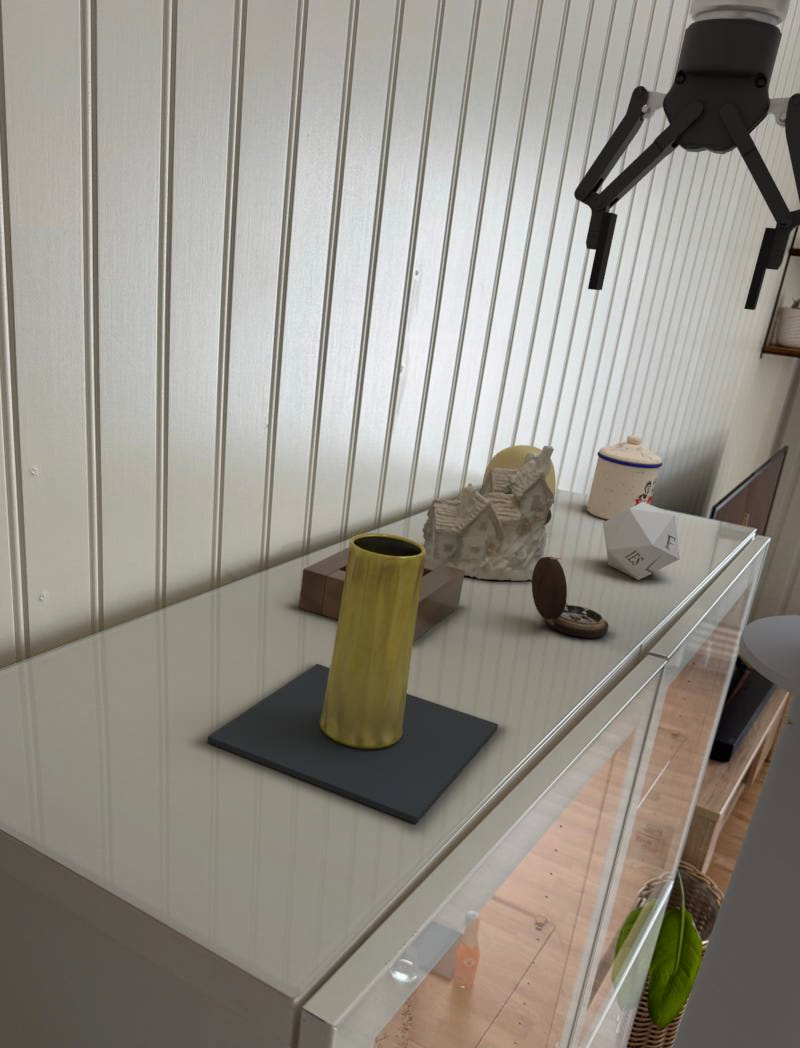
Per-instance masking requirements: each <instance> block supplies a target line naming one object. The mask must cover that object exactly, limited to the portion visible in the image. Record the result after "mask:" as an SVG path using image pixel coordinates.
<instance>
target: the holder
mask: <svg viewBox="0 0 800 1048" xmlns="http://www.w3.org/2000/svg"><path fill="white" fill-rule="evenodd" d="M348 551H349V546H348V547H346V548H343V549H342V550H340V551H337V552H336V553H333V554H331V555H330V556H327V557H325V558H324V559H321V560H319V561H317V562H315V563H313V564H311V565H309V566H307V567H304V568H303V569H302V578H301V585H300V587H301V588H300V594H299V602H298V603H299V604H298V608H299V609H301V610H306V611H308V612H312V613H314V614H318V615H321V616H324V617H328V618H331V619H334V620H337V621H338V619H339V613H340V607H341V600H342V594H343V587H344V580H345V573H346V566H347V558H348ZM464 573H465V571H464V570H460V569H456V568H452V567H449V566H445V565H441V564H438V563H434V562H430V561H426V560H425V566H424V571H423V577H422V584H421V590H420V597H419V604H418V609H417V616H416V623H415V630H414V637H413V642H415V641H416V640H417V639H419V638H420V637H421V636H423V635H424V634H425V633H426V632H428V631H430V629H432V628H434V627H435V626H436V625H437V624H438V623H440V622H442V620H444V619H445V618H446V617H448V616H449V615H450V614H452V613H453V612H454V611H456V610H457V609H458V608H459V605H460V600H461V594H462V589H463V584H464V578H465V575H464Z"/></svg>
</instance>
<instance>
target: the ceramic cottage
mask: <svg viewBox="0 0 800 1048" xmlns="http://www.w3.org/2000/svg"><path fill="white" fill-rule="evenodd" d="M541 450H542V453H541V454H538V453H533V452H529V453H528V454H526V457H525V460H524V463H523V465H522V468H520V469H515V470H512V469H501V468H491V470H490V471H489V472H488V475H487V477H486V479H485V482H484V483H483V482H482V485H481V487H480V488H479V490H477V489H476V487H475V486H474V485H473V484H472V483H470V482H469V483H468V485H467V486H465V487H464V489H463V490H462V492H461V493H460V494H459V495H457V499H456V500H450V499H444V498H440V497H436V498H435V499H434V500H432V502H431V504H430V506H429V508H428V510H427V513H426V516H427V517H428V518H427V519H426V520H425V523H424V524H423V528H422V529H421V531H422V533H423V534H422V538H423V539H424V542H423V543H422V544H421V545H422V546H423V547H424V548H425V550H426V561H430V562H434V563H438V564H441V565H445V566H449V567H452V568H456V569H460V570H464V571H465V573H464V576H469V577H470V578H474V577H475V578H476V579H479V580H497V581H504V580H505V581H509V580H510V581H512V582H515V581H525V582H526V581H528V580H529V581H532V575H533V571H534V567H535V565H536V563H537V561H538V560H539V559H540V558H543V557H548V555H547V554H546V553H545V552H546V551H545V549H546V545H547V530H546V528H545V527H546V525H545V522H546V519H547V515H548V512H549V508H550V506H551V505H552V506H553V505H554V503H555V502H556V501H555V500H556V499H555V496H554V494H553V492H551V489H550V488H549V487H548V484H547V481H546V476H547V475H548V473H549V471H550V467H551V460H552V459H550V458H552V455H553V453H554V450H555V448H554V446H552V445H543V447H542V449H541ZM550 509H551V508H550ZM544 525H545V526H544Z"/></svg>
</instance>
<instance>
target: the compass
mask: <svg viewBox="0 0 800 1048" xmlns="http://www.w3.org/2000/svg"><path fill="white" fill-rule="evenodd" d="M559 560H562V557H554V556H547V557H543V558H540V559H539V560H538V561H537V563H536V565H535V567H534V571H533V575H532V580H531V593H532V599H533V603H534V606H535V608H536V610H537V612H538V614H539V615H540V616H541V617H542V618H543V619H545V621H546V623H547V624H548V625H549V626H550V627H551V628H553V629H554V630H555V631H558V632H561V633H563V634H566V635H569V636H573V637H578V638H588V639H589V638H590V639H591V638H592V639H593V638H599V637H602V636H604V635H606V634H607V633H608V631H609V623H608V622H607V620H606V619H605V618H604V616H602V615H601V614H600V613H599V612H597V611H595V610H593V609H590V608H587V607H584V606H580V605H573V604H568V603H567V598H568V585H567V580H566V575H565V571H564V568H563V567H562V564H561V563H560V561H559Z"/></svg>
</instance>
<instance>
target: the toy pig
mask: <svg viewBox="0 0 800 1048" xmlns="http://www.w3.org/2000/svg"><path fill="white" fill-rule="evenodd" d="M529 452H533V453H538V454H541V453H542V449H541V448H539V447H536V446H532V445H529V444H528V445H526V444H518V445H512V446H508V447H505V448H504V449H503V448H502V449H501V450H500V451H498V452H497V453H495V455H494V456H493V457H492V458H491V459H490V460H489V462H488V464H487V466H486V468H485V471H484V474H483V479H482V484H483V483H484V482H485V479H486V477H487V475H488V472H489V471H490V470H491V468H501V469H512V470H515V469H520V468H522V465H523V463H524V460H525V457H526V454H528V453H529ZM551 458H552V457H550V459H551ZM555 471H556V470H555V466H554V463H553V460H552V459H551V467H550V471H549V473H548V475H547V476H546V481H547V484H548V487H549V488H550V489H551V492H553V494H554V497H555V496H556V472H555ZM552 507H553V504H552V505H551V506H550V508H549V512H548V515H547V519H546V522H545V525H544V526H545V527H546V526H547V525H548V524H549V523H550V522H551V520H552V515H553V514H552V511H551V508H552Z"/></svg>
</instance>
